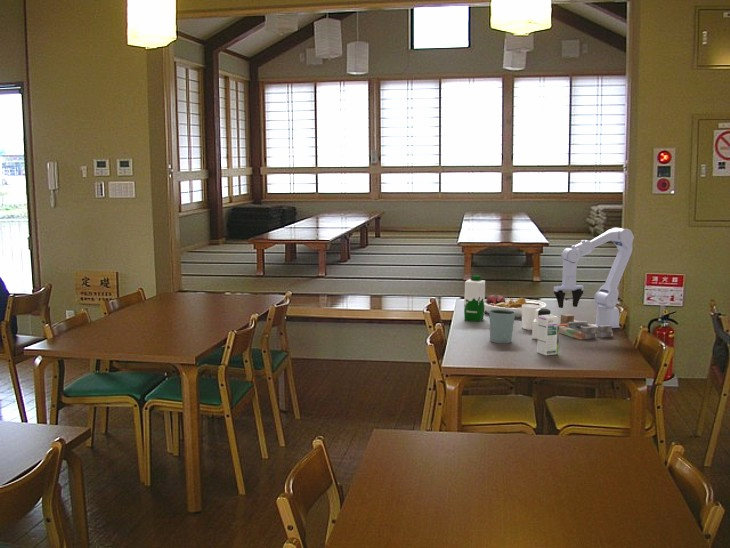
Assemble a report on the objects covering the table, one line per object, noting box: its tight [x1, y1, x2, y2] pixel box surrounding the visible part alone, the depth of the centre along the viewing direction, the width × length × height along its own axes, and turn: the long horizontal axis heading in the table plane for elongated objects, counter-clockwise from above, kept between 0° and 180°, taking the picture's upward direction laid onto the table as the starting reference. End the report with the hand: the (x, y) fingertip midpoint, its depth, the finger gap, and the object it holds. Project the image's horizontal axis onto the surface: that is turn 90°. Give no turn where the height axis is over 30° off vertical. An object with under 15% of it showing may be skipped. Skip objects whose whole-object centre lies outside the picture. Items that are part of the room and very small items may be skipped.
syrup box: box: [536, 313, 560, 356], centre depth 303 cm, size 6×6×14 cm
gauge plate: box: [559, 320, 589, 331], centre depth 342 cm, size 15×7×4 cm, turn 114°
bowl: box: [484, 294, 547, 319], centre depth 387 cm, size 30×30×8 cm
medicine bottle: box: [531, 308, 551, 340], centre depth 331 cm, size 7×7×12 cm
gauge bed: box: [559, 319, 614, 340], centre depth 345 cm, size 17×28×5 cm, turn 24°
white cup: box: [521, 304, 540, 331], centre depth 350 cm, size 8×8×10 cm
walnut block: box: [559, 313, 575, 327], centre depth 351 cm, size 4×4×6 cm
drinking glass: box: [488, 310, 515, 344], centre depth 324 cm, size 10×10×12 cm
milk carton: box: [463, 274, 486, 323], centre depth 367 cm, size 9×9×20 cm
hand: (567, 307), depth 350 cm, fingers open, 7 cm apart
